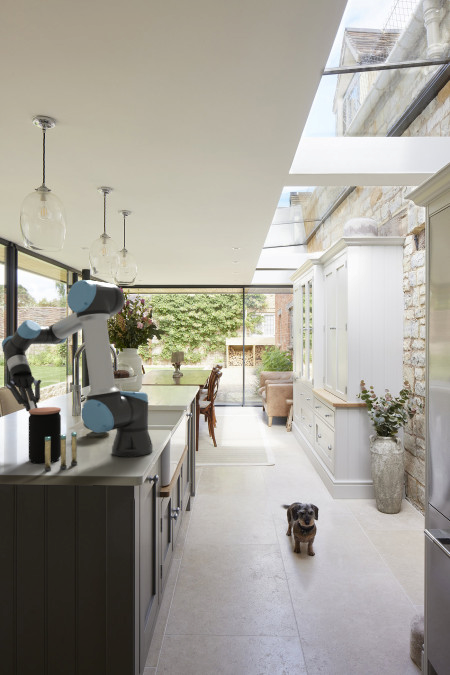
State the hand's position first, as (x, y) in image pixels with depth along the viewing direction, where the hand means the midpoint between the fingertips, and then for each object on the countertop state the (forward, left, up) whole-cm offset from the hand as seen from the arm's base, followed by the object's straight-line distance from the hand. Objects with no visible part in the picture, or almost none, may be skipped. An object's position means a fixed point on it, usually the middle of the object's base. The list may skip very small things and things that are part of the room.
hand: (34, 417), depth 163 cm
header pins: (-25, +3, -14) cm, 28 cm away
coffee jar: (-10, +1, -14) cm, 18 cm away
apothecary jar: (+10, -34, -14) cm, 38 cm away
